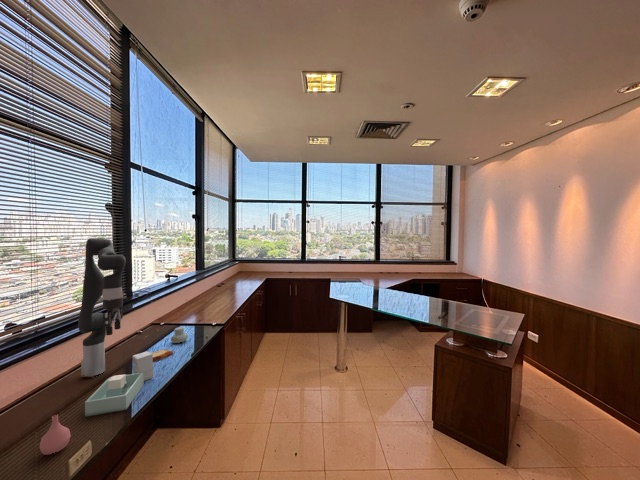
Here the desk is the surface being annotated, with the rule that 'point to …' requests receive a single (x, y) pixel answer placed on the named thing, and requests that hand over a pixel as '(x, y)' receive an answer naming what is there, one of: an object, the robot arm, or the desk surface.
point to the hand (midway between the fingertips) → (113, 331)
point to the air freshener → (179, 335)
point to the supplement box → (143, 364)
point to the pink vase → (55, 438)
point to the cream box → (116, 382)
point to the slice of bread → (161, 354)
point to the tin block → (117, 391)
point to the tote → (116, 403)
